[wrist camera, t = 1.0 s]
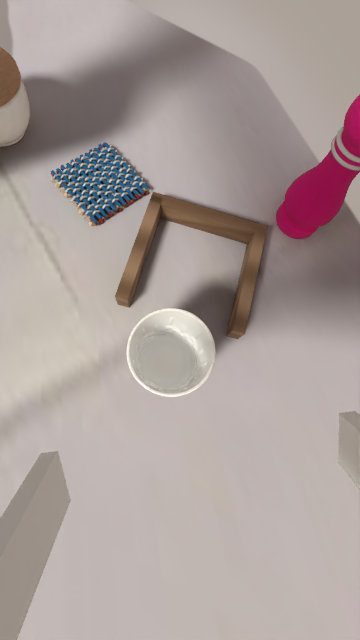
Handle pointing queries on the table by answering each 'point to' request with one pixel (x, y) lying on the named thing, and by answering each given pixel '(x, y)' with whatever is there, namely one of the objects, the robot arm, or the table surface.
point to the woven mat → (98, 172)
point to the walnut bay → (209, 223)
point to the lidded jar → (12, 102)
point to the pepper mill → (323, 182)
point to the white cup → (171, 352)
